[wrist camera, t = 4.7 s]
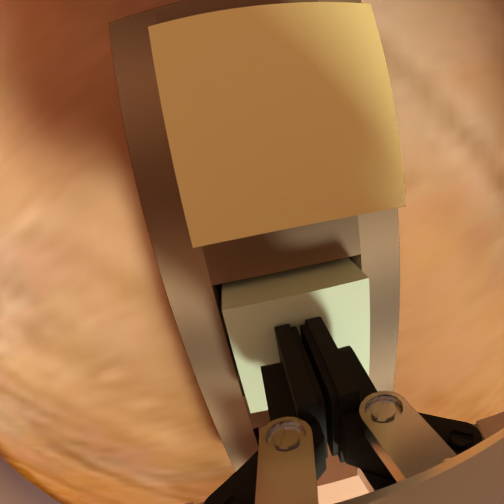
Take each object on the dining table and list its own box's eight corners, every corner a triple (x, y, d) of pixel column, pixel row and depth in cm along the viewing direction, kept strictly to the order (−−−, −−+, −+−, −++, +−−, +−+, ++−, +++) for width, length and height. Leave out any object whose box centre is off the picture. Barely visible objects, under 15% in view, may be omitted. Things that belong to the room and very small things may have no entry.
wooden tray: (362, 427, 21) (380, 466, 17) (244, 454, 20) (248, 497, 17) (326, 20, 12) (356, -12, 8) (136, 50, 12) (108, 22, 8)
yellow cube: (337, 180, 12) (405, 206, 7) (205, 205, 12) (192, 248, 7) (314, 52, 10) (370, 3, 5) (178, 73, 10) (148, 26, 5)
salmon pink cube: (348, 446, 17) (372, 507, 12) (270, 464, 17) (281, 530, 12) (350, 395, 15) (383, 466, 11) (256, 417, 15) (267, 496, 11)
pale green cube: (334, 325, 17) (368, 384, 12) (243, 345, 17) (250, 413, 12) (326, 236, 15) (369, 277, 10) (222, 258, 15) (221, 310, 10)
